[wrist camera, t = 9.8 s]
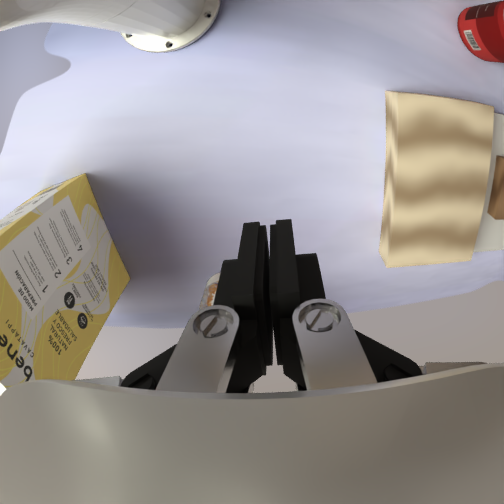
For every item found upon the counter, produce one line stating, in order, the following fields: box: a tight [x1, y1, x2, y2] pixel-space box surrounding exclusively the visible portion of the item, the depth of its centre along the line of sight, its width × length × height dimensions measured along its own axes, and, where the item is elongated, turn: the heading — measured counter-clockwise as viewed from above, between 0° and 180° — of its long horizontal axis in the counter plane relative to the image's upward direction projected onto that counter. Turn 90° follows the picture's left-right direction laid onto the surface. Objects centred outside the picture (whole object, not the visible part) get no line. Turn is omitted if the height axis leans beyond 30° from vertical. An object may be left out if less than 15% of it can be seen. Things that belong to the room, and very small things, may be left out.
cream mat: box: [473, 113, 504, 252], centre depth 34 cm, size 22×13×1 cm, turn 6°
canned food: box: [458, 1, 504, 63], centre depth 18 cm, size 8×8×11 cm
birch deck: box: [379, 91, 494, 268], centre depth 33 cm, size 22×14×4 cm, turn 6°
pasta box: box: [0, 173, 130, 395], centre depth 31 cm, size 18×10×28 cm, turn 12°
